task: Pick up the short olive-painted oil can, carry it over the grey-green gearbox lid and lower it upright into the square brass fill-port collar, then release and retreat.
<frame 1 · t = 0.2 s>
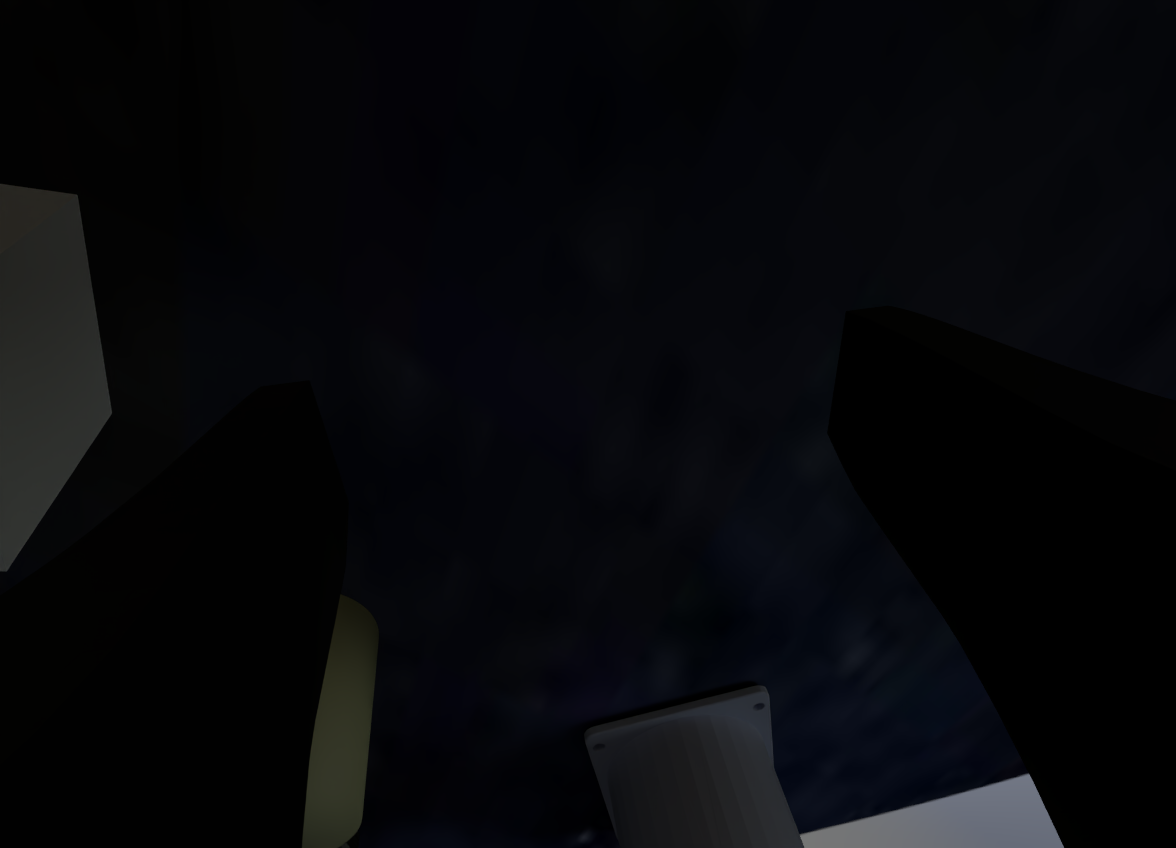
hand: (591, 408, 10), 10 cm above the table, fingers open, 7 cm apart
oil can: (310, 635, 26), on the table
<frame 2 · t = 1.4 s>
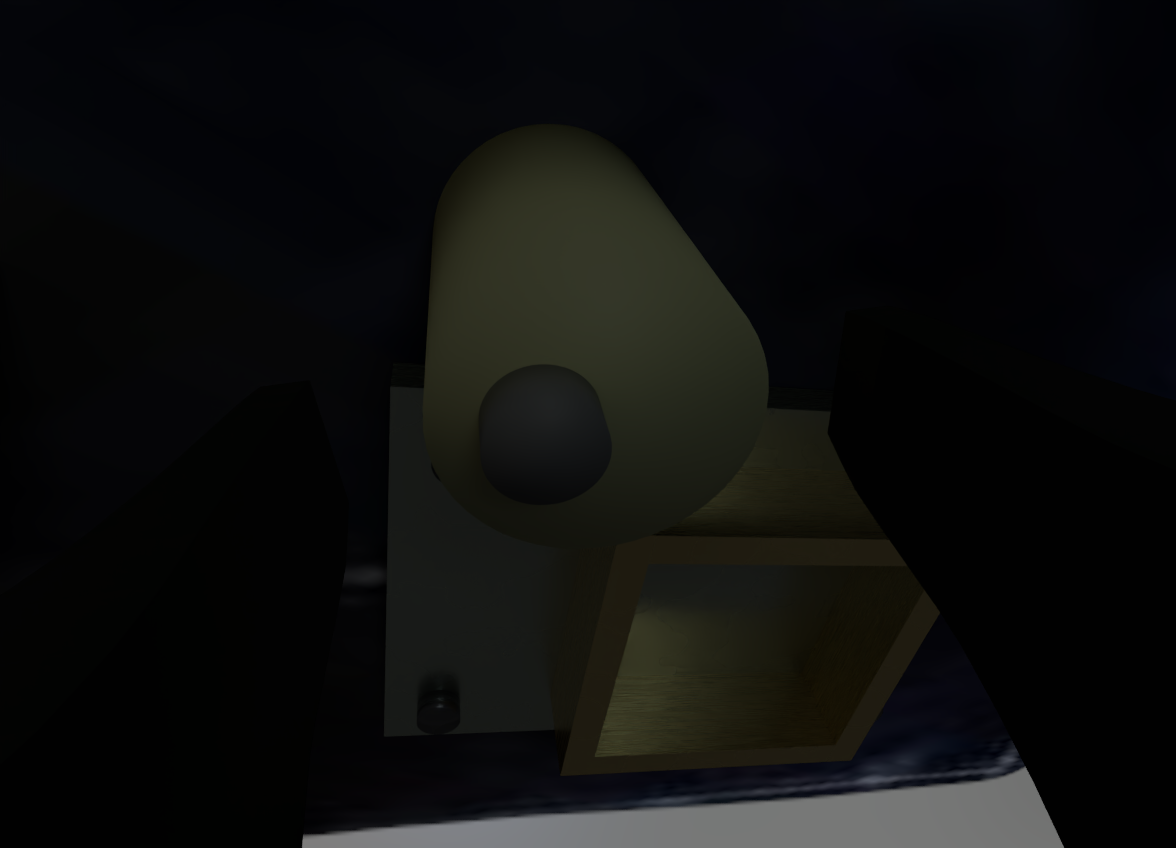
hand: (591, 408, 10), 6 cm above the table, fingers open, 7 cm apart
oil can: (548, 242, 15), on the table
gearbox: (681, 565, 21), on the table
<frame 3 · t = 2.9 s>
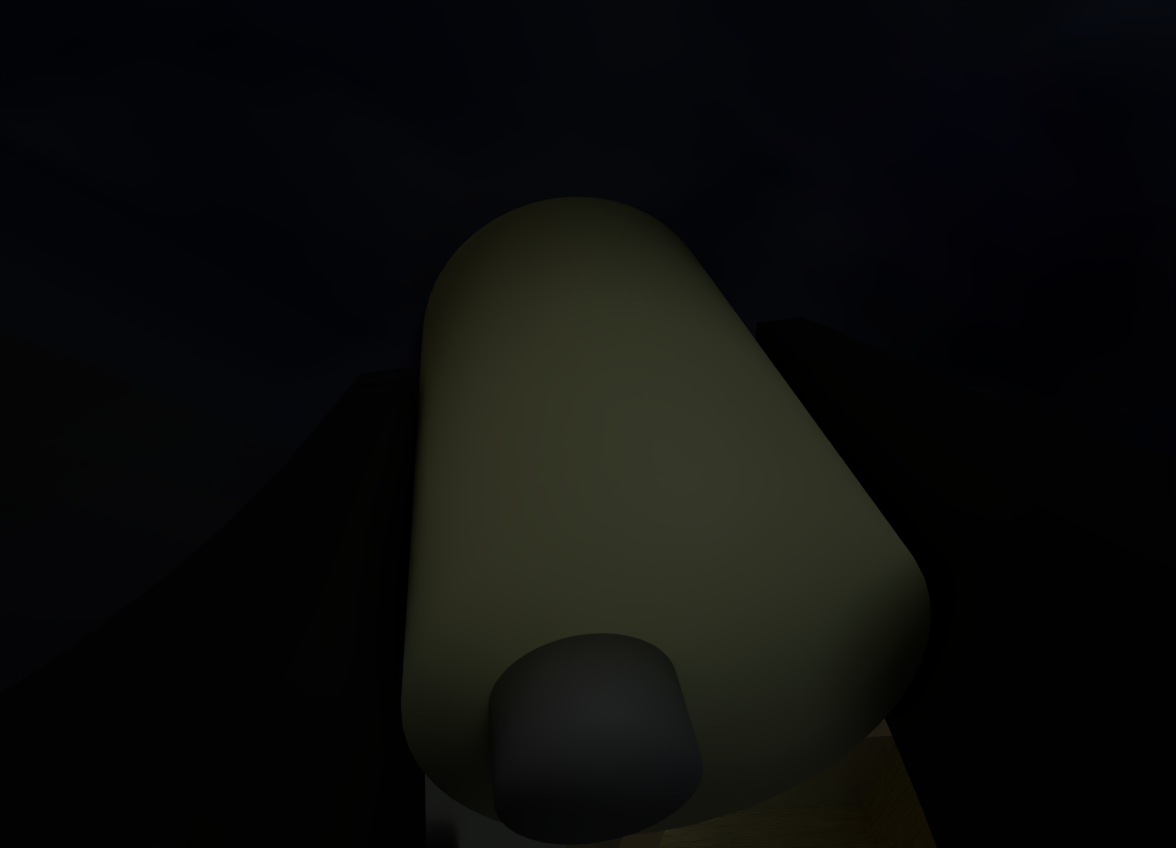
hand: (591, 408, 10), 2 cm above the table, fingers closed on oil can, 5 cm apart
oil can: (571, 342, 12), on the table, touching gripper
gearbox: (722, 693, 18), on the table
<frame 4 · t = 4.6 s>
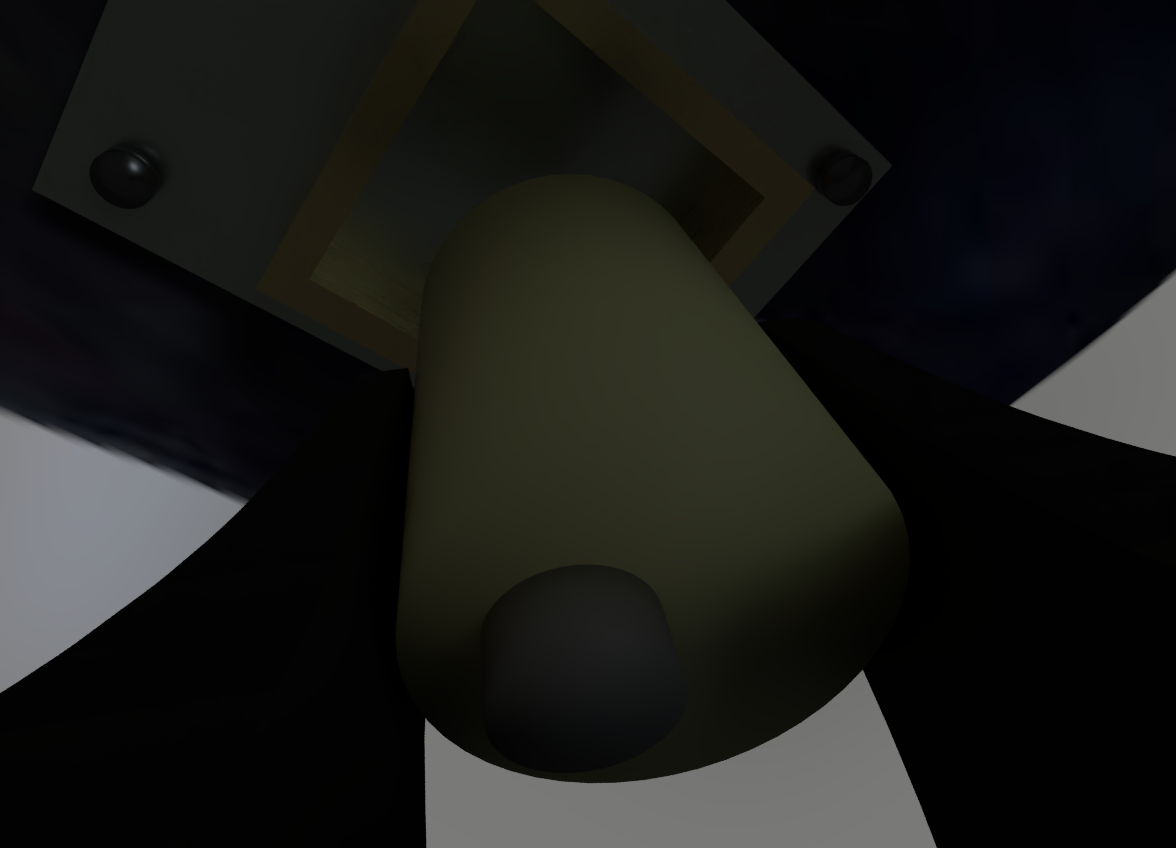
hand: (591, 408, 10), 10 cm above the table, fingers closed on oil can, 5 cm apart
oil can: (566, 319, 12), point 8 cm above the table, touching gripper
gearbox: (493, 165, 18), on the table
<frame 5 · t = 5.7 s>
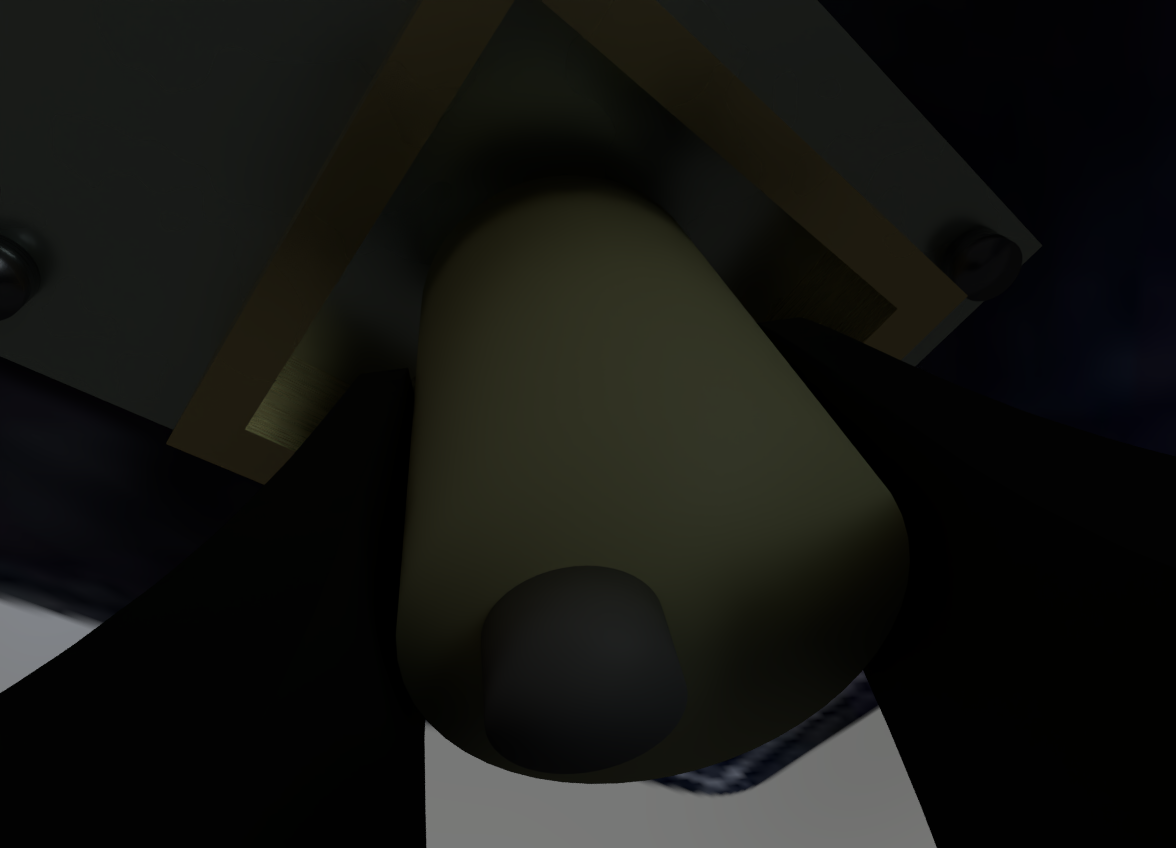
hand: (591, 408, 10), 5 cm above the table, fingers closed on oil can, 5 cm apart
oil can: (566, 320, 12), point 2 cm above the table, touching gripper
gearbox: (508, 245, 13), on the table
when the fingers open (4 cm above the table, at t = 6.6 s): oil can drops 1 cm, resting on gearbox.
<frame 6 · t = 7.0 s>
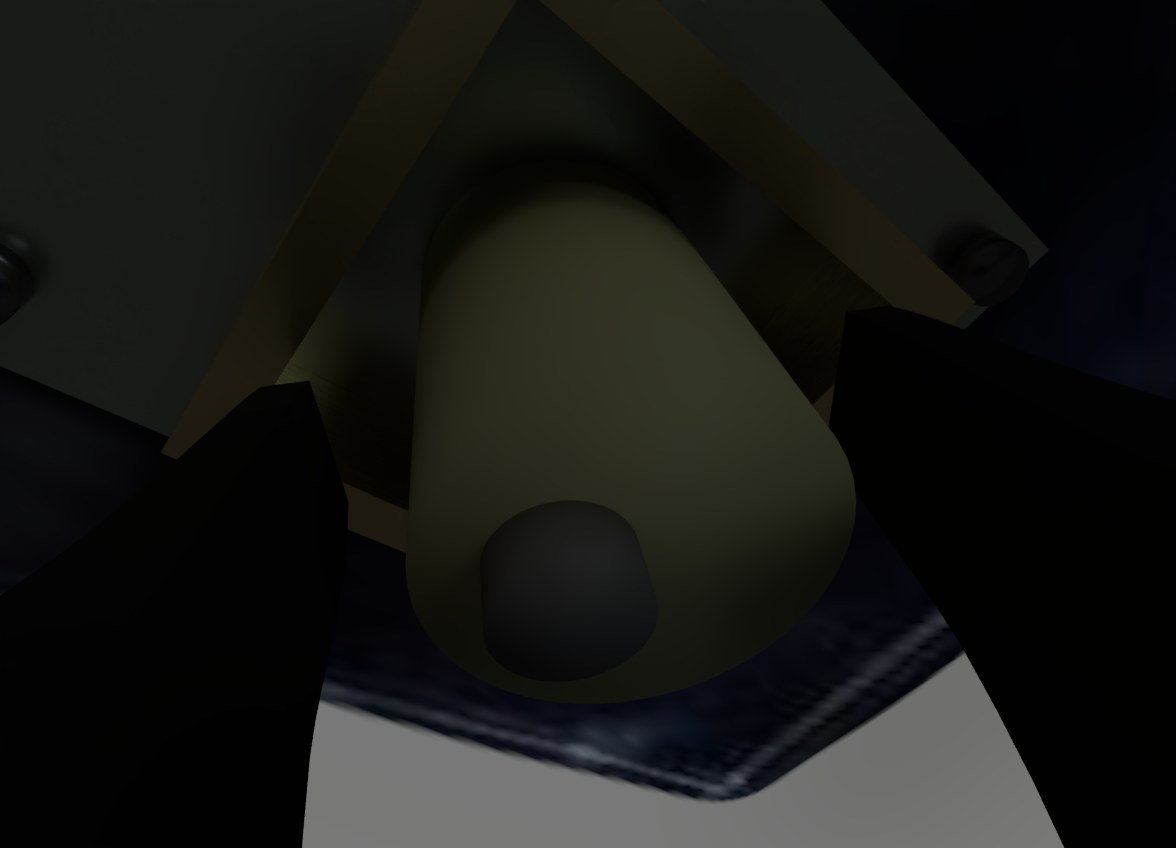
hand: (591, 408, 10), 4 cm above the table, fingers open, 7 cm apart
oil can: (557, 294, 13), point 1 cm above the table, touching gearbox
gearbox: (508, 250, 13), on the table
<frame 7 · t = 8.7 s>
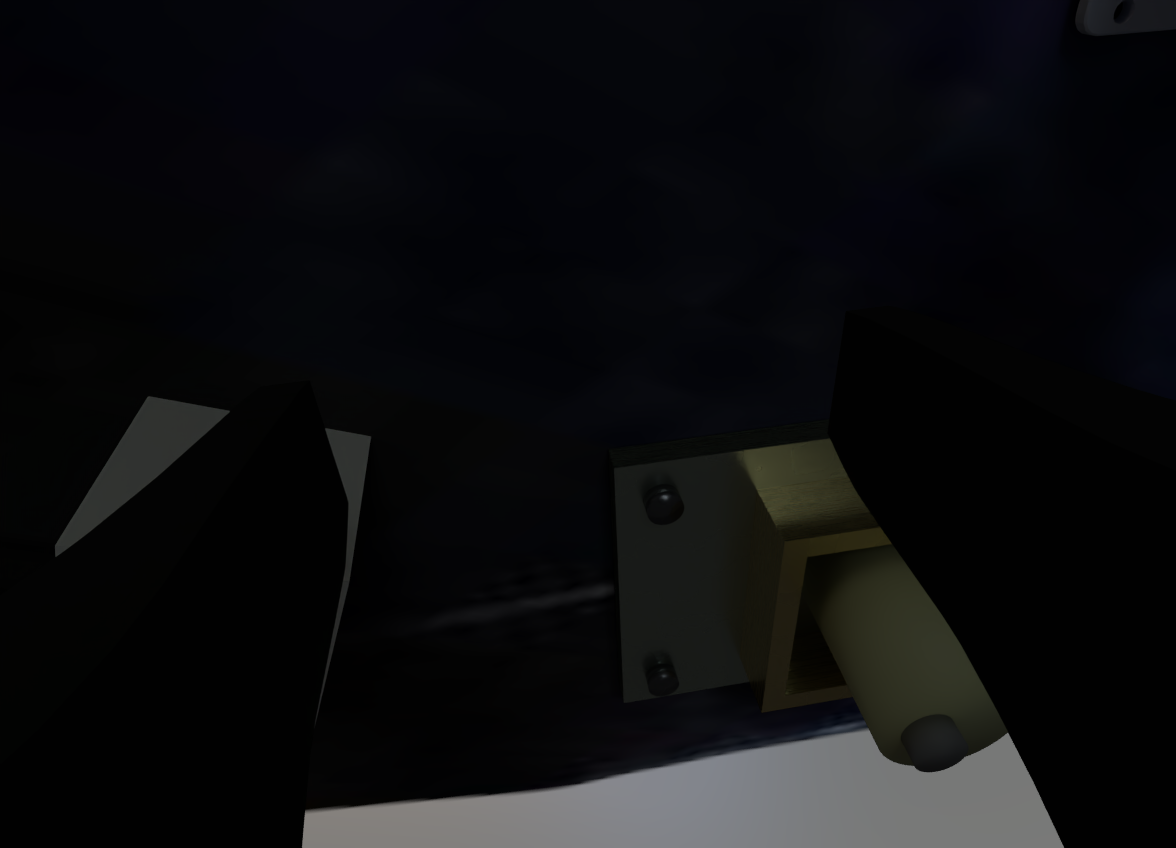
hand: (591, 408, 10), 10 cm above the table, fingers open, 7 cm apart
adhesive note: (255, 490, 23), on the table
oil can: (858, 563, 27), point 1 cm above the table, touching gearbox
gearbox: (823, 548, 28), on the table
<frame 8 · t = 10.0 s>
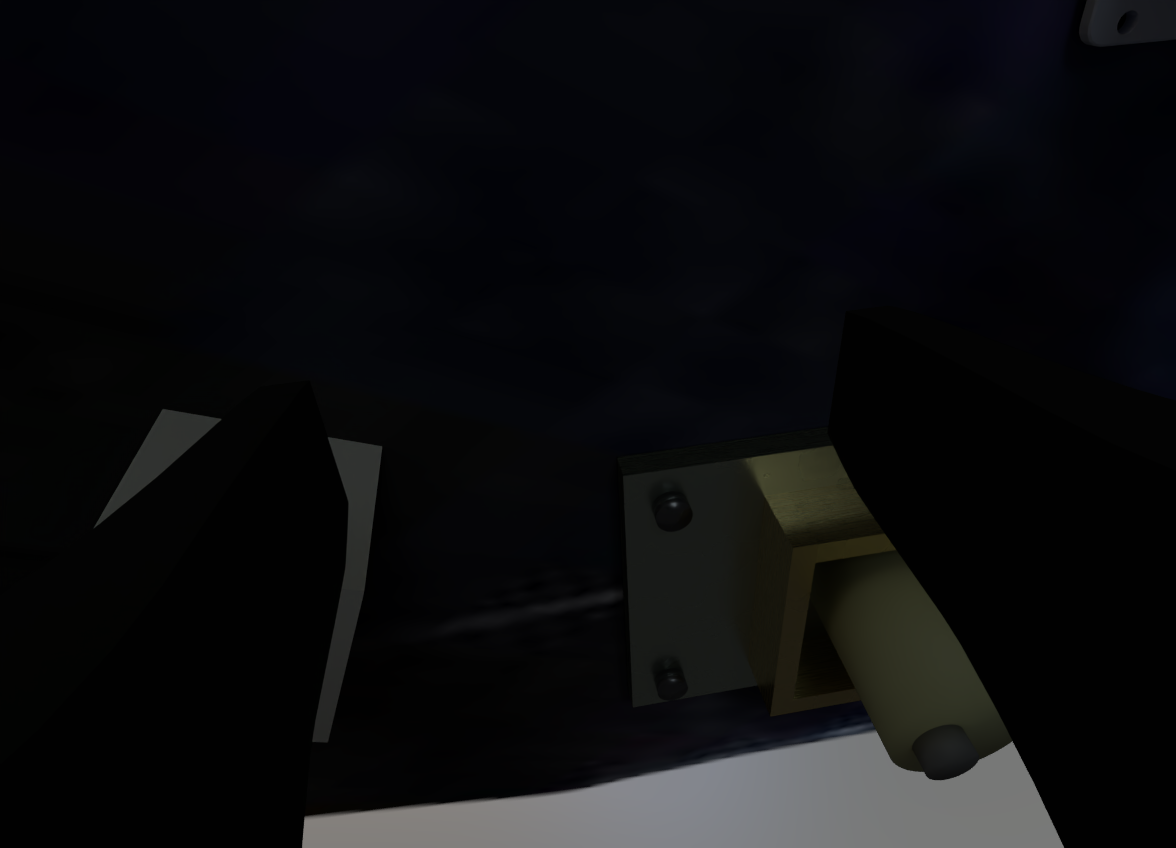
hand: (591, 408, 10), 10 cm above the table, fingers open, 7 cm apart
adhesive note: (268, 500, 23), on the table
oil can: (865, 567, 27), point 1 cm above the table, touching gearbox
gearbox: (830, 552, 28), on the table
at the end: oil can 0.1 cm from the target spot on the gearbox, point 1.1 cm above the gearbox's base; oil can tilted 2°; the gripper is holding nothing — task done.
